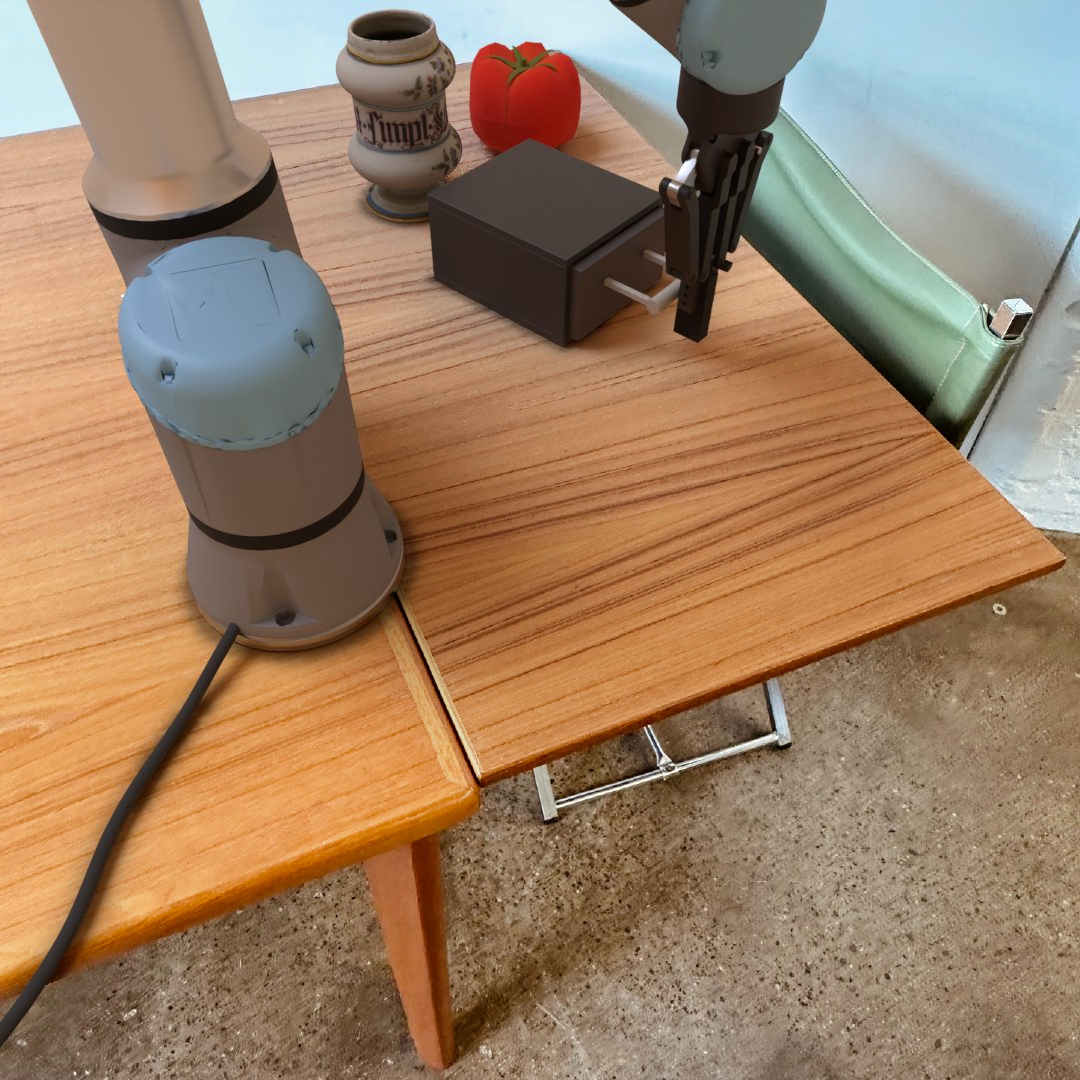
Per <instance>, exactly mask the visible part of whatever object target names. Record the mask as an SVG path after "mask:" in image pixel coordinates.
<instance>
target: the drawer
mask: <svg viewBox="0 0 1080 1080" xmlns="http://www.w3.org/2000/svg"><path fill="white" fill-rule="evenodd" d="M664 268H666V259H665V226H664V206H663V207H662V206H660V207H658V208H657V209H655V210H654V211H653V212H651V213H650V214H648V215H647V216H645V217H644V218H643V217H641V218H640V219H638V220H637V221H635V222H634V223H632V224H631V225H629V226H628V227H626V228H625V229H623V230H622V231H620V232H619V235H617V236H616V237H614V238H613V239H611V240H610V241H608V242H607V243H605V244H604V245H603V246H601V247H600V248H598V249H597V250H595V251H594V252H592V253H591V254H589V255H588V256H586V257H585V258H583V259H582V260H580V261H579V262H578V263H576V264H575V265H573V266H572V267H571V278H570V300H569V321H568V337H570V338H572V339H573V340H574V341H576V342H579V341H580V340H582V339H583V338H585V337H586V336H587V335H589V334H590V333H591V332H592V331H594V330H595V329H596V328H598V327H599V326H600V325H602V324H603V323H604V322H606V321H607V320H608V319H610V318H611V317H613V316H614V315H615V314H616V313H618V312H619V311H620V310H621V309H623V308H624V307H625V306H627V305H628V304H630V303H631V302H632V301H637V302H638V303H640V304H642V305H645V307H646V309H647V311H648V312H649V314H651V315H658V314H659V313H661V312H662V311H664V310H665V309H666V308H667V307H669V306H670V305H671V304H672V303H674V302H675V301H676V300H678V295H679V288H680V281H681V280H679V279H677V278H675V280H673V281H672V282H671V283H669V284H668V285H667V286H665V287H664V288H663V289H662V290H660V291H658V292H657V293H656V294H655V295H653V296H652V297H651V296H649V295H647V294H645V293H644V292H646V291H647V290H648V289H650V288H651V287H652V286H654V285H655V284H656V283H658V282H659V281H660V280H662V278H663V271H664Z"/></svg>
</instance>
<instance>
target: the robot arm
mask: <svg viewBox="0 0 1080 1080" xmlns="http://www.w3.org/2000/svg"><path fill="white" fill-rule="evenodd" d="M25 1H26V3H27V5H28V8H29V10H30V12H31V15H32V17H33V20H34V21H35V23H36V26H37V28H38V30H39V32H40V34H41V35H40V36H41V37H42V39H43V41H44V43H45V46H46V48H47V50H48V53H49V55H50V57H51V59H52V62H53V64H54V66H55V68H56V71H57V73H58V75H59V78H60V80H61V82H62V84H63V86H64V89H65V91H66V93H67V96H68V97H69V100H70V102H71V105H72V106H73V109H74V111H75V113H76V115H77V118H78V120H79V122H80V125H81V127H82V129H83V132H84V134H85V136H86V138H87V141H88V143H89V145H90V147H91V150H92V151H93V155H92V157H91V159H90V161H89V162H88V165H87V167H86V169H85V170H84V173H83V175H82V179H81V188H82V192H83V194H84V196H85V199H86V201H87V203H88V205H89V208H90V209H91V212H92V214H93V216H94V218H95V220H96V222H97V225H98V227H99V229H100V231H101V233H102V235H103V237H104V239H105V242H106V244H107V246H108V249H109V251H110V253H111V254H112V256H113V257H112V258H113V259H114V261H115V263H116V265H117V268H118V269H119V272H120V274H121V277H122V280H123V282H124V285H125V287H126V288H125V289H126V290H125V292H124V293H125V294H124V293H123V294H124V297H123V298H122V300H121V303H120V306H119V311H118V317H117V331H118V339H119V343H120V347H121V356H122V362H123V366H124V370H125V373H126V377H127V379H128V381H129V383H130V385H131V387H132V389H133V390H134V392H135V393H136V394H137V397H138V398H139V400H140V402H141V404H142V407H144V409H145V411H146V414H147V416H148V418H149V421H150V424H151V426H152V428H153V431H154V434H155V436H156V438H157V440H158V442H159V445H160V447H161V450H162V452H163V455H164V457H165V460H166V462H167V465H168V467H169V469H170V472H171V474H172V476H173V479H174V482H175V485H176V486H177V488H178V491H179V494H180V496H181V498H182V500H183V503H184V505H185V507H186V510H187V513H188V515H189V516H188V518H189V519H188V533H187V553H186V559H185V560H186V565H185V567H186V575H187V582H188V586H189V590H190V592H191V595H192V597H193V600H194V602H195V604H196V606H197V608H198V610H199V612H200V613H201V615H202V617H203V618H204V619H205V620H206V622H207V623H208V624H209V625H210V626H211V627H212V628H213V629H214V630H215V631H217V632H218V633H219V634H221V635H222V637H221V639H220V640H219V641H218V643H217V644H216V647H215V649H214V650H213V652H212V654H211V656H210V657H209V659H208V661H207V663H206V664H205V666H204V668H203V670H202V671H201V673H200V675H199V677H198V679H197V681H196V682H195V684H194V686H193V688H192V690H191V691H190V693H189V695H188V696H187V699H186V700H185V702H184V703H183V705H182V707H181V708H180V710H179V711H178V713H177V714H176V716H175V718H174V719H173V720H172V722H171V723H170V726H169V727H168V728H167V730H166V731H165V733H164V734H163V735H162V737H161V739H159V741H158V743H157V744H156V745H155V747H154V749H153V750H152V752H151V753H150V754H149V756H148V758H147V759H145V761H144V763H143V765H142V766H141V767H140V768H139V770H138V772H137V773H136V775H135V776H134V778H133V779H132V780H131V782H130V784H129V785H128V787H127V789H126V791H125V792H124V794H123V795H122V797H121V798H120V800H119V802H118V804H117V805H116V807H115V809H114V811H113V813H112V814H111V816H110V818H109V820H108V822H107V824H106V825H105V828H104V830H103V832H102V834H101V836H100V838H99V841H98V843H97V845H96V847H95V849H94V852H93V855H92V856H91V859H90V862H89V864H88V867H87V869H86V872H85V874H84V877H83V879H82V881H81V885H80V886H79V890H78V892H77V894H76V896H75V899H74V900H73V901H74V902H73V904H72V906H71V909H70V910H69V912H68V915H67V917H66V919H65V920H64V923H63V925H62V927H61V929H60V930H59V933H58V934H57V936H56V939H55V940H54V942H53V943H52V945H51V947H50V948H49V950H48V952H47V953H46V955H45V956H44V958H43V960H42V961H41V963H40V964H39V966H38V967H37V968H36V971H35V972H34V973H33V976H32V977H31V978H30V980H29V981H28V983H27V984H26V985H25V987H24V989H23V990H22V991H21V992H20V993H19V996H18V997H17V998H16V1000H15V1001H14V1003H13V1004H12V1005H11V1007H10V1008H9V1010H8V1011H7V1012H6V1014H5V1015H4V1016H3V1018H2V1019H1V1020H0V1049H1V1048H2V1047H3V1045H4V1044H5V1043H6V1041H7V1040H8V1039H9V1038H10V1036H11V1035H12V1034H13V1032H14V1031H15V1030H16V1028H17V1027H18V1026H19V1025H20V1023H21V1022H22V1020H23V1019H24V1018H25V1016H26V1015H27V1013H28V1012H29V1011H30V1009H31V1008H32V1007H33V1005H34V1003H36V1001H37V1000H38V998H39V996H40V995H41V993H42V992H43V990H44V989H45V987H46V986H47V984H48V983H49V981H50V980H51V978H52V977H53V975H54V973H55V971H56V970H57V969H58V967H59V966H60V963H61V962H62V960H63V959H64V958H65V955H66V953H67V952H68V950H69V948H70V947H71V945H72V943H73V941H74V939H75V937H76V935H77V933H78V931H79V930H80V928H81V925H82V923H83V921H84V919H85V917H86V915H87V913H88V911H89V908H90V906H91V903H92V900H93V898H94V896H95V893H96V891H97V888H98V885H99V883H100V880H101V878H102V875H103V872H104V870H105V867H106V865H107V862H108V860H109V857H110V855H111V852H112V850H113V847H114V845H115V843H116V841H117V839H118V836H119V834H120V832H121V830H122V829H123V826H124V825H125V822H126V820H127V818H128V817H129V816H130V813H131V811H132V809H133V808H134V806H135V804H136V803H137V802H138V799H139V797H140V796H141V794H142V793H143V791H144V790H145V788H146V786H147V784H148V783H149V781H150V780H151V778H152V777H153V775H154V774H155V772H156V771H157V769H158V768H159V766H160V765H161V764H162V762H163V761H164V759H165V758H166V756H167V755H168V754H169V752H170V750H171V749H172V747H173V746H174V744H175V743H176V742H177V740H178V738H179V737H180V736H181V734H182V733H183V731H184V729H185V728H186V726H187V725H188V724H189V722H190V720H191V718H192V716H193V715H194V714H195V712H196V711H197V708H198V707H199V705H200V703H201V702H202V700H203V698H204V697H205V694H206V693H207V691H208V689H209V687H210V686H211V684H212V682H213V680H214V678H215V676H216V675H217V673H218V671H219V669H220V668H221V666H222V664H223V662H224V660H225V658H227V657H226V656H228V653H229V651H230V650H231V648H232V646H233V644H234V643H236V644H237V643H238V644H240V645H243V646H245V647H249V648H252V649H257V650H262V651H263V650H264V651H269V652H270V651H271V652H295V651H303V650H308V649H309V650H310V649H314V648H318V647H321V646H326V645H327V644H330V643H333V642H336V641H339V640H341V639H343V638H345V637H347V636H349V635H350V634H353V633H355V632H356V631H358V630H359V629H361V628H362V627H364V626H365V625H367V624H368V623H369V622H371V621H372V620H374V618H375V617H376V616H377V615H379V613H380V612H381V611H383V609H385V607H386V606H387V605H388V603H389V602H390V601H391V599H392V598H393V596H394V595H395V593H396V591H397V590H398V587H399V586H400V583H401V580H402V577H403V574H404V570H405V561H406V552H405V543H404V538H403V533H402V529H401V525H400V522H399V521H398V518H397V515H396V514H395V512H394V510H393V507H392V506H391V505H390V503H389V502H388V501H387V499H386V497H385V496H384V495H383V493H382V492H381V491H380V489H379V488H378V486H377V485H376V483H375V482H374V481H373V480H372V478H371V476H370V475H369V474H368V472H367V471H366V470H365V466H364V459H363V455H362V449H361V444H360V439H359V433H358V428H357V423H356V417H355V412H354V406H353V402H352V396H351V391H350V390H351V389H350V386H349V380H348V375H347V370H346V365H345V364H346V363H345V347H344V345H345V340H344V334H343V328H342V324H341V320H340V317H339V315H338V311H337V309H336V307H335V305H334V303H333V301H332V299H331V295H330V293H329V291H328V288H327V286H326V284H325V283H324V281H323V280H322V278H321V277H320V275H319V274H318V272H317V271H316V270H315V269H314V268H313V267H312V266H311V265H310V264H309V263H308V262H307V261H306V260H305V259H304V256H303V253H302V251H301V248H300V246H299V242H298V238H297V235H296V232H295V228H294V224H293V221H292V218H291V215H290V211H289V208H288V204H287V201H286V197H285V194H284V189H283V186H282V183H281V180H280V177H279V174H278V170H277V167H276V163H275V161H274V156H273V154H272V150H271V146H270V144H269V142H268V141H267V139H266V138H265V136H264V135H263V134H262V133H261V132H260V131H259V130H256V129H255V128H253V127H251V126H249V125H248V124H245V123H244V122H242V121H240V120H239V119H237V118H236V114H235V111H234V108H233V104H232V101H231V98H230V95H229V91H228V88H227V85H226V82H225V78H224V76H223V73H222V69H221V66H220V63H219V62H220V61H219V59H218V56H217V52H216V49H215V47H214V43H213V40H212V37H211V34H210V30H209V27H208V24H207V20H206V17H205V14H204V11H203V7H202V4H201V1H200V0H25ZM608 1H609V2H610V4H611V5H612V6H613V7H615V9H617V10H618V11H619V12H621V14H623V15H624V16H625V17H626V18H628V19H629V20H630V21H631V22H632V23H634V24H635V25H636V26H637V27H638V28H640V30H642V31H643V32H645V33H646V34H647V35H648V36H649V37H650V38H651V39H653V41H655V42H657V44H659V45H660V46H661V47H662V48H664V49H665V50H666V51H667V52H668V53H669V54H670V55H671V56H672V57H674V58H675V59H676V60H677V61H678V63H679V64H680V70H679V78H678V84H677V85H678V86H677V94H676V102H675V103H676V104H675V108H676V111H677V113H678V116H679V117H680V118H681V120H682V121H683V122H684V124H685V126H686V128H687V134H686V139H685V142H684V144H683V147H682V150H681V154H680V158H681V159H680V160H681V164H682V165H681V167H680V169H679V170H678V172H677V173H676V175H675V176H674V178H671V177H668V176H664V177H663V178H661V181H660V182H659V183H658V190H657V191H658V192H659V193H660V196H661V198H662V201H663V203H664V206H663V207H664V226H665V259H666V267H665V274H666V275H668V276H671V277H672V278H674V279H679V280H681V281H680V288H679V295H678V298H677V301H676V309H675V316H674V322H673V323H674V324H673V333H676V334H678V335H680V336H682V337H684V338H686V339H688V340H690V341H692V342H695V343H697V344H699V343H701V342H702V341H703V340H704V339H705V338H706V337H708V334H709V328H710V322H711V317H712V312H713V305H714V300H715V296H716V295H715V294H716V289H717V283H718V277H719V270H720V271H722V272H724V273H729V272H730V270H731V269H732V267H733V264H734V262H733V261H730V260H728V259H727V256H728V255H727V254H728V253H729V254H732V255H733V254H734V253H735V252H736V251H737V249H738V246H739V242H740V240H741V236H742V233H743V229H744V227H745V224H746V223H745V222H746V219H747V216H748V213H749V209H750V206H751V203H752V199H753V196H754V193H755V190H756V186H757V183H758V181H759V176H760V173H761V170H762V166H763V164H764V161H765V159H766V156H767V154H768V152H769V151H770V147H771V146H772V144H773V141H774V133H773V132H770V131H767V130H766V129H767V128H769V127H770V126H772V125H773V124H774V122H775V121H776V120H777V118H778V115H779V111H780V107H781V101H782V96H783V93H784V87H785V82H786V77H787V76H788V74H790V73H791V72H792V70H793V69H794V68H795V67H796V66H797V65H798V63H799V62H800V61H801V60H803V58H804V56H805V54H806V52H807V51H808V50H809V49H810V47H812V45H813V43H814V41H815V39H816V37H817V35H818V33H819V31H820V28H821V25H822V22H823V20H824V17H825V14H826V8H827V3H828V0H608Z"/></svg>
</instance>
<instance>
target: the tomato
mask: <svg viewBox="0 0 1080 1080" xmlns="http://www.w3.org/2000/svg"><path fill="white" fill-rule="evenodd" d="M511 47H512V49H510V48H509V47H508V46H506V45H505V44H503V43H500V42H497V41H495V42H492V43H489V44H486V45H485V46H483V47H481V48H479V49H478V51H477V53H476V55H475V57H474V58H473V60H472V64H471V69H470V75H469V102H468V107H469V109H468V110H469V119H470V124H471V128H472V131H473V133H474V134H475V135H476V136H477V138H478V139H479V141H481V142H482V144H483V145H484V146H486V147H488V148H489V149H492V150H494V151H496V152H499V153H503V152H505V151H507V150H509V149H510V148H512V147H514V146H516V145H518V144H520V143H521V142H523V141H525V140H527V139H529V138H530V139H532V140H535V141H537V142H540V143H542V144H544V145H547V146H549V147H552V148H554V149H557V148H558V147H559V146H562V145H565V144H567V143H569V142H570V141H571V140H572V139H573V138H574V137H575V135H576V133H577V129H578V127H579V123H580V118H581V109H582V108H581V107H582V86H581V80H580V75H579V72H578V70H577V67H576V65H575V63H574V62H573V60H572V58H571V57H570V55H567V54H564V53H560V50H556V49H555V50H551V49H547V48H546V47H545V46H544V44H543V42H534V41H524V42H523V43H521V44H519V45H517V46H514V45H511ZM551 52H552V53H553V52H556V53H554V54H552V55H550V53H551Z"/></svg>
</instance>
